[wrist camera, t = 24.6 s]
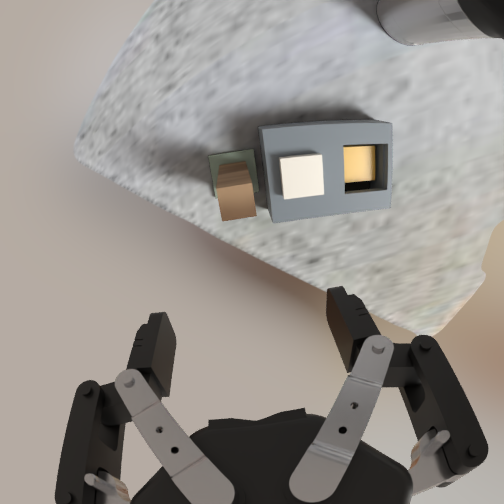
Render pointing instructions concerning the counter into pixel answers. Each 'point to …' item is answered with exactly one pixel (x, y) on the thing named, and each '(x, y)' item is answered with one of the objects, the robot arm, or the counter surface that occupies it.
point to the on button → (301, 175)
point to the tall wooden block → (235, 191)
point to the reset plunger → (359, 162)
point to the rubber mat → (233, 158)
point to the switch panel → (326, 166)
